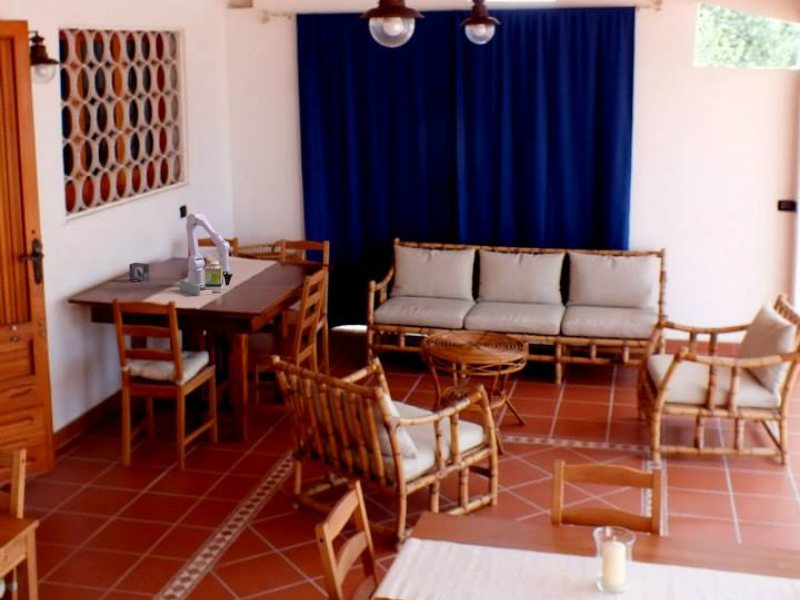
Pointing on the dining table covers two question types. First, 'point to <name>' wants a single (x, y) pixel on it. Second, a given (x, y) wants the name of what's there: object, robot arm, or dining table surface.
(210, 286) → the tea box
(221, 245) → the robot arm
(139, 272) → the small box
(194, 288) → the display bay
